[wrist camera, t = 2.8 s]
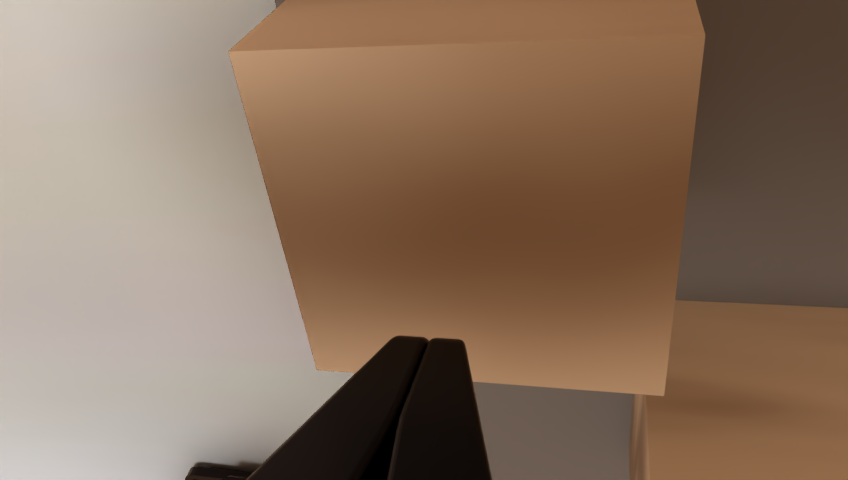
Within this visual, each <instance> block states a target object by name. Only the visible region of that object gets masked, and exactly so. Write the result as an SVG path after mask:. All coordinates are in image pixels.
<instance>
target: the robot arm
mask: <svg viewBox="0 0 848 480" xmlns="http://www.w3.org/2000/svg"><path fill="white" fill-rule="evenodd" d="M185 480H492V476H491V471H490V466H489V461H488V456H487V451H486V446H485V441H484V436H483V431H482V426H481V421H480V416H479V411H478V406H477V401H476V396H475V391H474V386H473V380H472V375H471V370H470V365H469V360H468V355H467V350H466V346H465V343H464V341H462V340H460V339H449V338H433V339H431V340H430V341H429V340H428V339H427V338H425V337H417V336H401V335H399V336H395V337H393V338H391V339H390V340H389V341H388V342H387V343H386V344H385V345H384V346H383V347H382V348H381V349H380V350H379V351H378V352H377V353H376V354H375V355H374V356H373V357H372V358H371V359H370V360H369V361H368V362H366V363H365V364H364V365H363V366H362V367H361V368H360V369H359V370H358V371H357V372H356V373H355V374H354V375H353V376H352V377H351V378H350V379H349V380H348V381H347V382H346V383H345V384H344V385H343V386H342V387H341V388H340V389H339V390H338V391H337V392H336V393H335V394H334V395H333V396H332V397H331V398H329V399H328V400H327V401H326V402H325V403H324V404H323V405H322V406H321V407H320V408H319V409H318V410H317V411H316V412H315V413H314V414H313V415H312V416H311V417H310V418H309V419H308V420H307V421H306V422H305V423H304V424H303V425H302V426H301V427H300V428H299V429H298V430H297V431H296V432H295V433H293V434H292V435H291V436H290V437H289V438H288V439H287V440H286V441H285V442H284V443H283V444H282V445H281V446H280V447H279V448H278V449H277V450H276V451H275V452H274V453H273V454H272V455H271V456H270V457H269V458H268V459H267V460H266V461H265V462H264V463H263V464H262V465H261V466H260V467H259V468H258V469H256V470H255V471H254V472H253V473H251V472H242V471H233V470H224V469H215V468H207V467H192V468H191V469H190V471H189V473H188V475H187V476H186V478H185Z"/></svg>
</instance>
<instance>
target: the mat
mask: <svg viewBox="0 0 848 480" xmlns="http://www.w3.org/2000/svg"><path fill="white" fill-rule="evenodd" d="M284 1H285V0H275V3H276V7H279V6H280V5H281V4H282V3H283V2H284ZM696 4H697V7H698V11H699V14H700V18H701V21H702V25H703V28H704V32H705V43H704V52H703V61H702V69H701V78H700V87H699V96H698V104H697V113H696V122H695V131H694V139H693V148H692V157H691V166H690V174H689V183H688V192H687V201H686V209H685V218H684V227H683V236H682V244H681V253H680V262H679V271H678V279H677V288H676V297H675V300H682V301H704V302H726V303H748V304H769V305H791V306H813V307H835V308H848V0H696ZM473 386H474V391H475V396H476V401H477V406H478V411H479V416H480V421H481V426H482V431H483V436H484V441H485V446H486V451H487V456H488V461H489V466H490V471H491V476H492V480H630V475H629V445H630V433H631V420H632V407H633V395H634V394H629V393H616V392H603V391H589V390H576V389H563V388H550V387H536V386H523V385H510V384H497V383H484V382H473Z"/></svg>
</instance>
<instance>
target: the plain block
mask: <svg viewBox="0 0 848 480" xmlns="http://www.w3.org/2000/svg"><path fill="white" fill-rule="evenodd" d="M704 43H705V32H704V28H703V25H702V21H701V18H700V14H699V11H698V7H697V4H696V0H285V1H284V2H283V3H282V4H281V5H280V6H279V7H277V8H276V9H275V10H274V11H273V12H272V13H271V14H270V15H268V16H267V17H266V18H265V19H264V20H263V21H262V22H261V23H260V24H258V25H257V26H256V27H255V28H254V29H253V30H252V31H251V32H250V33H248V34H247V35H246V36H245V37H244V38H243V39H242V40H241V41H239V42H238V43H237V44H236V45H235V46H234V47H233V48H232V49H231V50H229V51H228V53H229V56H230V60H231V63H232V67H233V70H234V74H235V78H236V81H237V85H238V88H239V92H240V96H241V99H242V103H243V106H244V110H245V114H246V117H247V121H248V124H249V128H250V131H251V135H252V139H253V142H254V146H255V149H256V153H257V157H258V160H259V164H260V167H261V171H262V175H263V178H264V182H265V185H266V189H267V192H268V196H269V200H270V203H271V207H272V210H273V214H274V218H275V221H276V225H277V228H278V232H279V236H280V239H281V243H282V246H283V250H284V254H285V257H286V261H287V264H288V268H289V271H290V275H291V279H292V282H293V286H294V289H295V293H296V297H297V300H298V304H299V307H300V311H301V315H302V318H303V322H304V325H305V329H306V332H307V336H308V340H309V343H310V347H311V350H312V354H313V358H314V361H315V365H316V368H317V370H325V371H338V372H351V373H356V372H357V371H358V370H359V369H360V368H361V367H362V366H363V365H364V364H365V363H366V362H368V361H369V360H370V359H371V358H372V357H373V356H374V355H375V354H376V353H377V352H378V351H379V350H380V349H381V348H382V347H383V346H384V345H385V344H386V343H387V342H388V341H389V340H390V339H391V338H393V337H395V336H399V335H401V336H417V337H425V338H427V339H428V340H429V341H430V340H431V339H433V338H449V339H460V340H462V341H464V343H465V346H466V350H467V355H468V360H469V365H470V370H471V375H472V380H473V382H484V383H497V384H510V385H523V386H536V387H550V388H563V389H576V390H589V391H603V392H616V393H629V394H642V395H656V396H664V393H665V384H666V376H667V367H668V358H669V349H670V341H671V332H672V323H673V314H674V306H675V297H676V288H677V279H678V271H679V262H680V253H681V244H682V236H683V227H684V218H685V209H686V201H687V192H688V183H689V174H690V166H691V157H692V148H693V139H694V131H695V122H696V113H697V104H698V96H699V87H700V78H701V69H702V61H703V52H704Z"/></svg>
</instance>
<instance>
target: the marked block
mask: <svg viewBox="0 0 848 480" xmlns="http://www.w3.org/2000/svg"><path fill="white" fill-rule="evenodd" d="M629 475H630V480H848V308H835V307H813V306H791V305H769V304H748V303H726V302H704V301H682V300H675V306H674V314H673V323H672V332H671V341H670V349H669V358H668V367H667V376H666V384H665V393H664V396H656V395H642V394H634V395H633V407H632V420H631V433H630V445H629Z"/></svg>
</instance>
